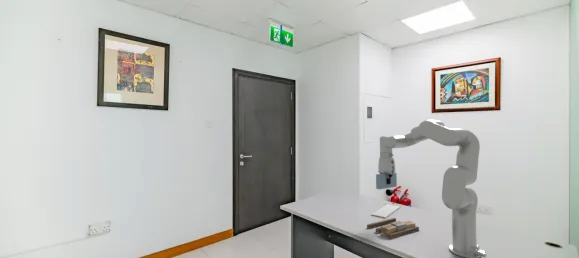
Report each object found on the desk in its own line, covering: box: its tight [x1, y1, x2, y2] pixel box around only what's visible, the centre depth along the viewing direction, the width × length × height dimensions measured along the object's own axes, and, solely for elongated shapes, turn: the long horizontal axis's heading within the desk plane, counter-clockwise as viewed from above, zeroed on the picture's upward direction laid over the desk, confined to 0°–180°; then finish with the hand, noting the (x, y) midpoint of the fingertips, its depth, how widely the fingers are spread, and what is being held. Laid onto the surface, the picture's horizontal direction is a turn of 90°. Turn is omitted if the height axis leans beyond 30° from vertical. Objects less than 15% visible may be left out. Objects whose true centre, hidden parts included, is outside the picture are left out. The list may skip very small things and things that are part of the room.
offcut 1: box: [380, 223, 397, 238], centre depth 139 cm, size 5×7×4 cm
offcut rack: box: [366, 217, 420, 240], centre depth 146 cm, size 18×24×2 cm
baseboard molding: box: [370, 202, 401, 220], centre depth 179 cm, size 31×3×12 cm
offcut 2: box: [390, 220, 406, 232], centre depth 142 cm, size 5×7×5 cm
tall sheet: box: [375, 172, 398, 190], centre depth 157 cm, size 2×16×9 cm, turn 118°
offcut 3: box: [403, 220, 416, 229], centre depth 146 cm, size 5×7×4 cm
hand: (386, 183), depth 157 cm, fingers closed on tall sheet, 2 cm apart
